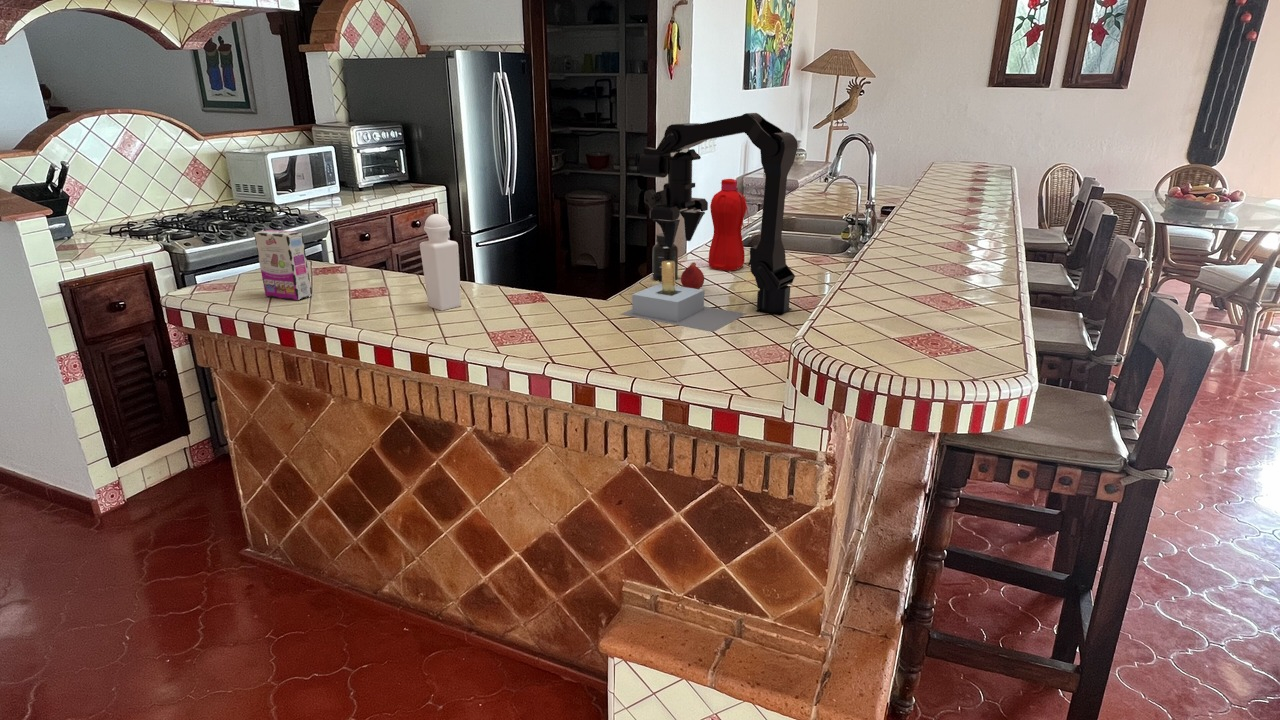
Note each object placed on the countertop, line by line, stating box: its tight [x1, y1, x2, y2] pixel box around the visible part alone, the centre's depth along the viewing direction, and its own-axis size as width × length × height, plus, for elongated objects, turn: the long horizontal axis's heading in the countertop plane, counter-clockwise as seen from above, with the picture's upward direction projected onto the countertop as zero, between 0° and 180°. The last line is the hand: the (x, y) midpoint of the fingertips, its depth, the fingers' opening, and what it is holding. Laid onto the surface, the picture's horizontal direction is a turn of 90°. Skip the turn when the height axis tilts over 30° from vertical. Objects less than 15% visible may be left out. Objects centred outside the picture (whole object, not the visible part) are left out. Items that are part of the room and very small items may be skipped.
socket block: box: [631, 282, 705, 322], centre depth 170 cm, size 12×12×4 cm
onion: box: [680, 261, 705, 290], centre depth 186 cm, size 6×6×8 cm
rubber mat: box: [620, 305, 747, 333], centre depth 169 cm, size 24×16×1 cm, turn 56°
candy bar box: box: [253, 229, 313, 301], centre depth 184 cm, size 11×5×16 cm, turn 68°
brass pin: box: [661, 261, 676, 296], centre depth 169 cm, size 3×3×10 cm
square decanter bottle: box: [419, 213, 462, 312], centre depth 174 cm, size 6×6×22 cm
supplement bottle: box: [652, 232, 679, 282], centre depth 200 cm, size 7×7×12 cm
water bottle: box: [707, 178, 750, 272], centre depth 209 cm, size 9×11×25 cm
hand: (679, 244), depth 182 cm, fingers open, 9 cm apart
